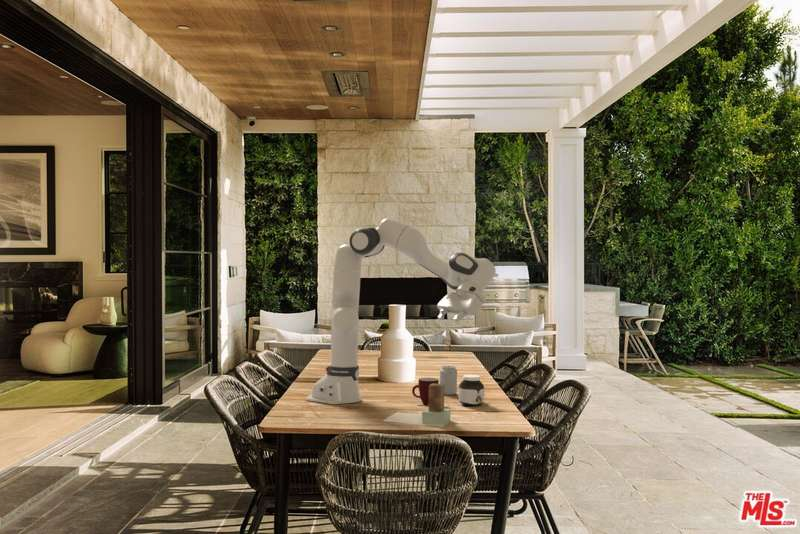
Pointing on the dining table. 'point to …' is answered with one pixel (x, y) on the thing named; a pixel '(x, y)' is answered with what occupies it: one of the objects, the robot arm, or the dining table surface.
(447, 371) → the can
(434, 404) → the pillar
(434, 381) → the mug
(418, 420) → the tile
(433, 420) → the base block
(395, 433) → the dining table surface
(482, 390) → the spread jar
